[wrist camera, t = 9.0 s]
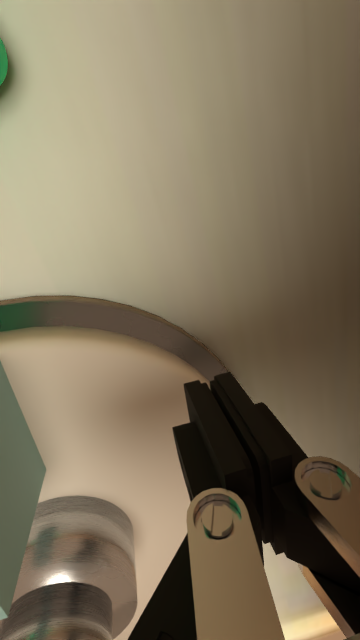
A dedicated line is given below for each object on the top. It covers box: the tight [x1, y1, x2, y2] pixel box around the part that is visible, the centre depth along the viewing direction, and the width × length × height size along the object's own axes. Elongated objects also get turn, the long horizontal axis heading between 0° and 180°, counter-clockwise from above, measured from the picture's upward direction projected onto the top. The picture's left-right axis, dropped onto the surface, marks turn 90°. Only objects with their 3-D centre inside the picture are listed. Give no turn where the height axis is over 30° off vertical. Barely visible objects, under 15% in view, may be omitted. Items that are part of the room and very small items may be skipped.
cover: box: [0, 495, 137, 640], centre depth 12 cm, size 6×6×5 cm
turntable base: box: [0, 296, 228, 381], centre depth 17 cm, size 22×22×1 cm
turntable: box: [0, 326, 210, 640], centre depth 13 cm, size 20×20×7 cm
